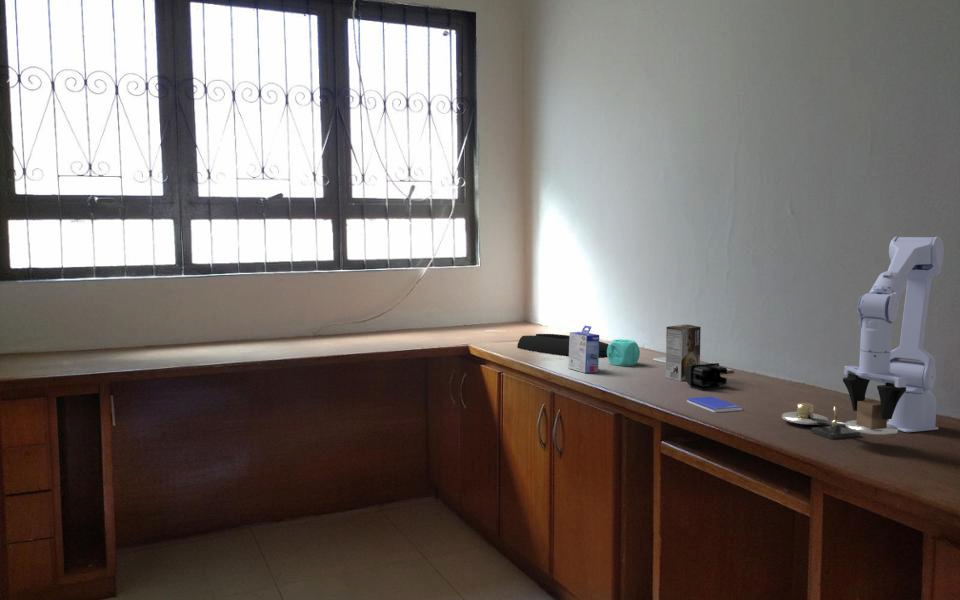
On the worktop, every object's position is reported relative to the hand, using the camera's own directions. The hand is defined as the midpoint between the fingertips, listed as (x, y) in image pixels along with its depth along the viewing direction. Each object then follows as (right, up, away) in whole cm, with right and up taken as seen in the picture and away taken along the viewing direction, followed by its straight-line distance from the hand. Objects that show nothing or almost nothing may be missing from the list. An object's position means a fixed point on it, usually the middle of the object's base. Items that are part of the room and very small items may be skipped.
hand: (871, 414), depth 160 cm
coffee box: (-20, 0, +75) cm, 77 cm away
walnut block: (0, -2, 0) cm, 2 cm away
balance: (-3, -6, +10) cm, 12 cm away
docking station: (-49, +4, +129) cm, 138 cm away
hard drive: (-22, -4, +37) cm, 44 cm away
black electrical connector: (-17, -2, +61) cm, 63 cm away
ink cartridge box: (-49, +1, +86) cm, 99 cm away
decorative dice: (-34, +2, +98) cm, 104 cm away
